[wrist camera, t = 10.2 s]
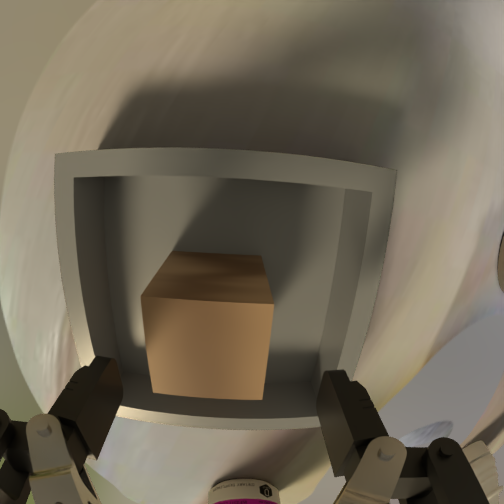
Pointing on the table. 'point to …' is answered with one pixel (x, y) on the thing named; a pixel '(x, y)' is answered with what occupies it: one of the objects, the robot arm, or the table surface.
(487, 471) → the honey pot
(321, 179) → the grey bin
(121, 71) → the table surface
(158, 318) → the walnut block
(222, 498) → the supplement can
